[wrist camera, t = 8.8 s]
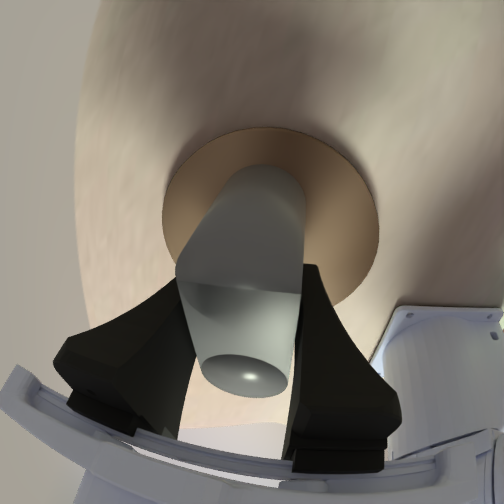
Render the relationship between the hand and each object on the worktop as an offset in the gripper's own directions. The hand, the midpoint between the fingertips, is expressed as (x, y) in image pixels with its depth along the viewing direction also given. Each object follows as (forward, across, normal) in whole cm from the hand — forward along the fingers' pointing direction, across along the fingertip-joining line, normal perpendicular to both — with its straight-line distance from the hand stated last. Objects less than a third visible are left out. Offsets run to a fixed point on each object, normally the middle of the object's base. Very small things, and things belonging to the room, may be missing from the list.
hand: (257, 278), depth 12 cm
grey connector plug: (+1, 0, +1) cm, 2 cm away
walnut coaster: (+3, 0, 0) cm, 3 cm away
